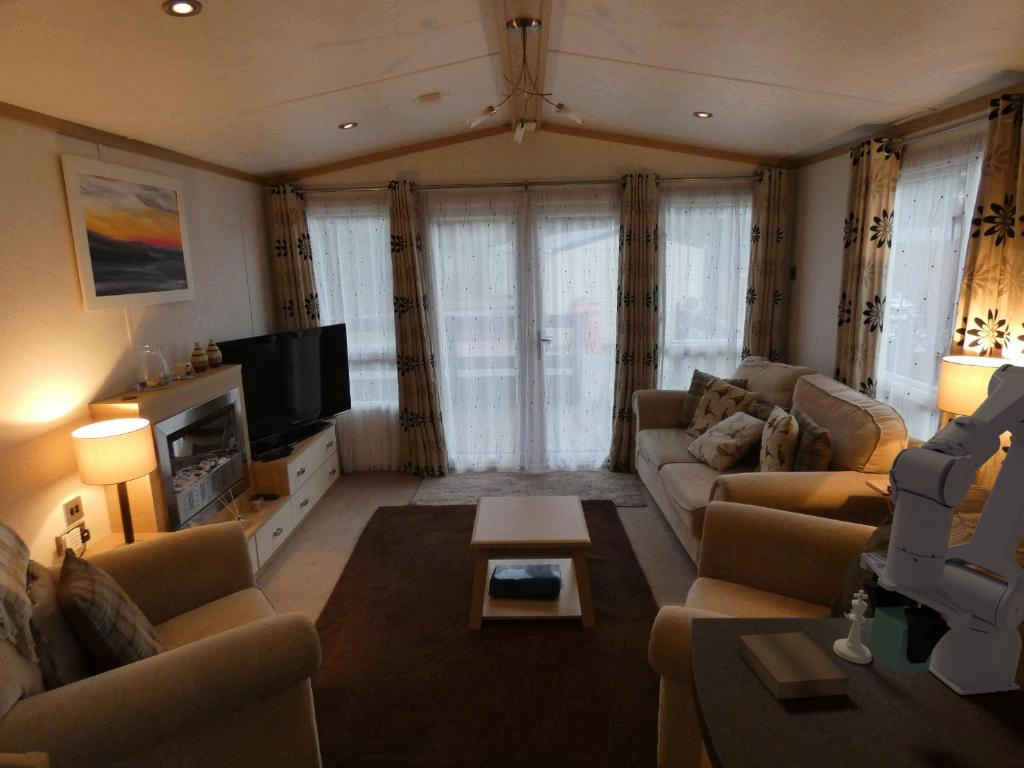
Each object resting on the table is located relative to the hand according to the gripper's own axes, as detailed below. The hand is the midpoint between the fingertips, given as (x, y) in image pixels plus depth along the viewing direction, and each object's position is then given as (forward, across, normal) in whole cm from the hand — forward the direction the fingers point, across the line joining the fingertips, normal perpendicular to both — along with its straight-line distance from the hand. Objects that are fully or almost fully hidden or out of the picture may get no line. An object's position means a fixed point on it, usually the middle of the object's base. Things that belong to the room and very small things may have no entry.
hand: (900, 648), depth 74 cm
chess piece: (+9, -11, +4) cm, 15 cm away
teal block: (+2, 0, 0) cm, 2 cm away
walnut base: (+9, -8, -8) cm, 15 cm away
